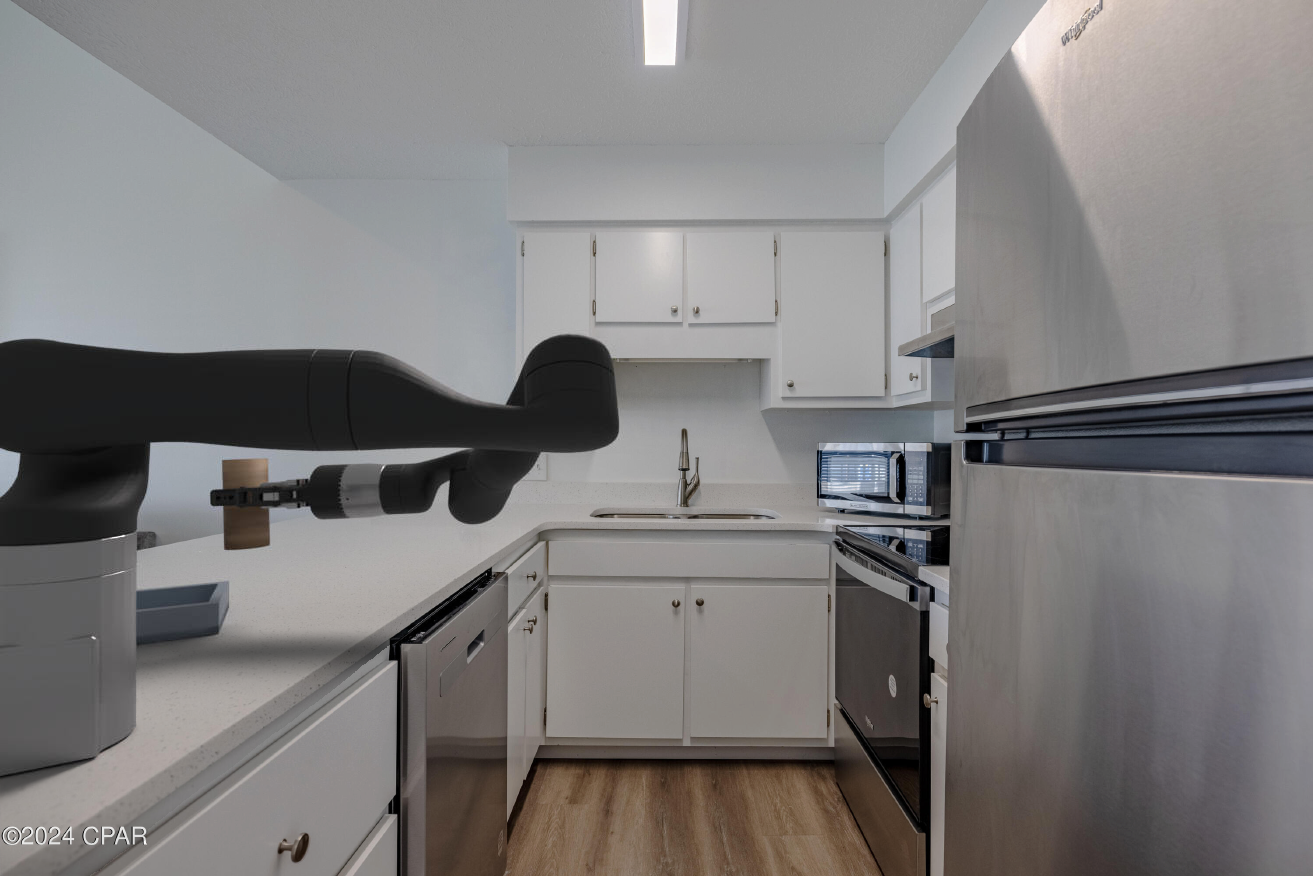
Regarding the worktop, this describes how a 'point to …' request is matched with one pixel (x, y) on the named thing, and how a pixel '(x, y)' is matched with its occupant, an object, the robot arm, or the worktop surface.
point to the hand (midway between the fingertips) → (226, 496)
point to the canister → (249, 522)
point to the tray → (180, 611)
